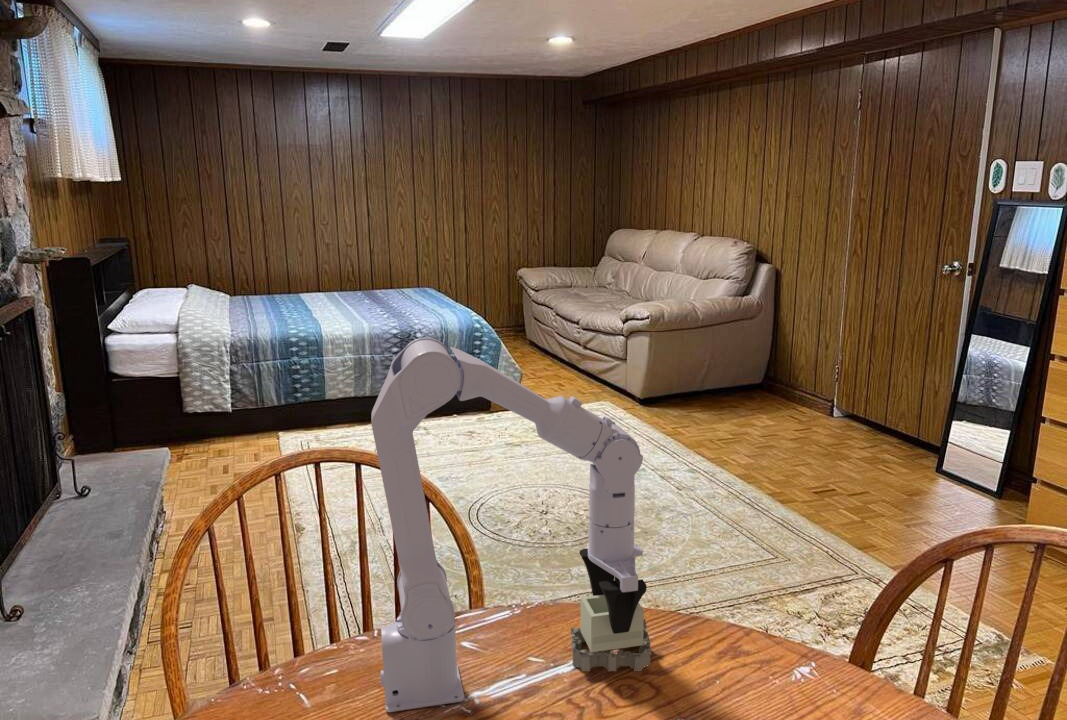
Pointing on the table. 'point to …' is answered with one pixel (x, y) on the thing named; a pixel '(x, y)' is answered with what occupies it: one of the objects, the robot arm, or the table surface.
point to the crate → (607, 626)
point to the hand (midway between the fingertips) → (611, 616)
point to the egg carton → (604, 658)
